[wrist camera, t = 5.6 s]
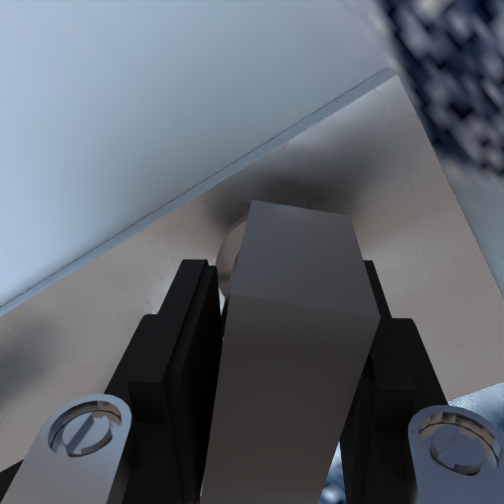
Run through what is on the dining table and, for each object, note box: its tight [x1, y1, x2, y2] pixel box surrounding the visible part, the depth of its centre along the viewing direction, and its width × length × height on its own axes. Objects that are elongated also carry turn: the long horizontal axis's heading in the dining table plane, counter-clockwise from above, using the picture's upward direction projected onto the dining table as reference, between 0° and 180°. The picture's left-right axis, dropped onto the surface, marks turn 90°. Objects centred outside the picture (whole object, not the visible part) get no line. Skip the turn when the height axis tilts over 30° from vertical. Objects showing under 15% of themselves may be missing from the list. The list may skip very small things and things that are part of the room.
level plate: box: [0, 68, 504, 496], centre depth 13 cm, size 26×10×9 cm, turn 123°
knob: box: [198, 200, 380, 504], centre depth 10 cm, size 6×3×6 cm, turn 172°
